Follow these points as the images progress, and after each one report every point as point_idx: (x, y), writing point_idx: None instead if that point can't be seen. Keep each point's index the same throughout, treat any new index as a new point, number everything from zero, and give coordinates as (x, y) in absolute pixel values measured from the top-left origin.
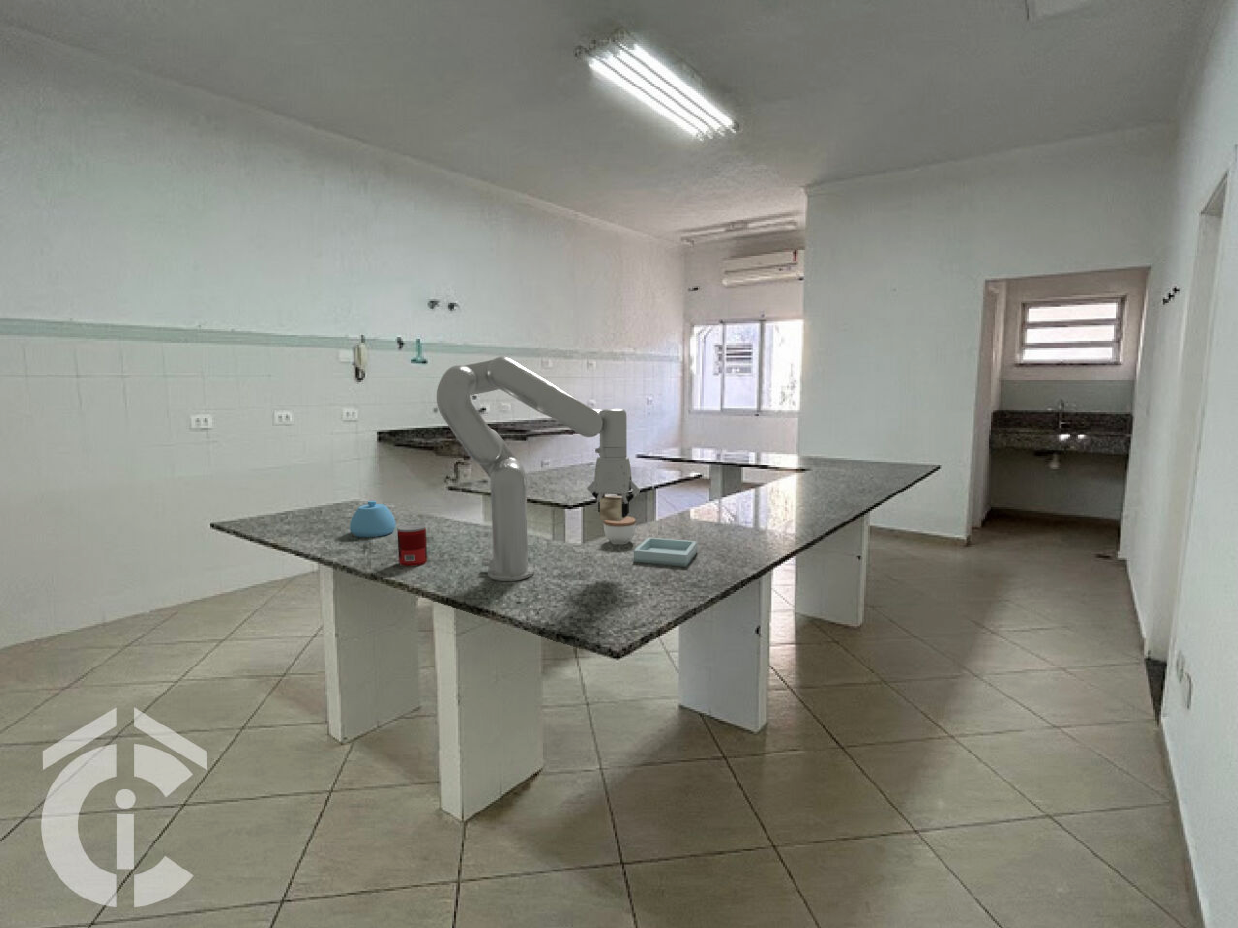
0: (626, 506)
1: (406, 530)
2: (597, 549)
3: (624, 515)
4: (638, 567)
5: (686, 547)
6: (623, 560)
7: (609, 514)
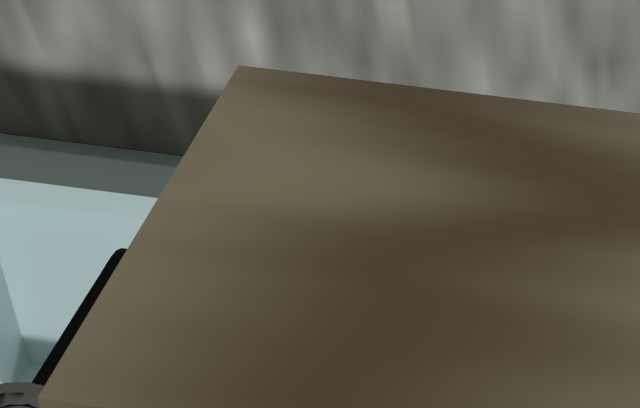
0: (66, 349)
1: None
2: None
3: None
4: (229, 59)
5: None
6: None
7: (459, 144)
